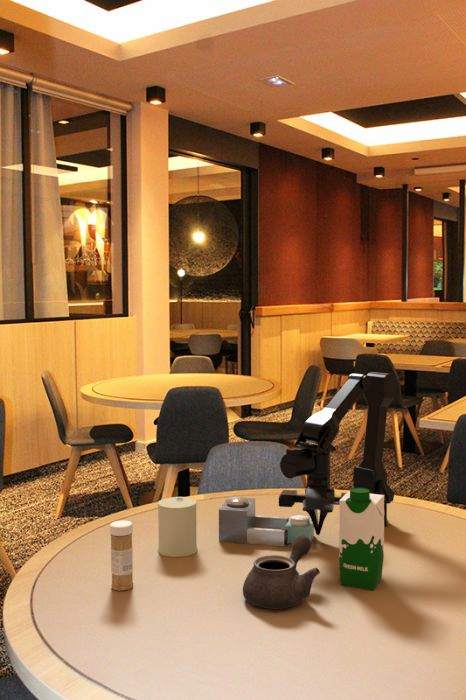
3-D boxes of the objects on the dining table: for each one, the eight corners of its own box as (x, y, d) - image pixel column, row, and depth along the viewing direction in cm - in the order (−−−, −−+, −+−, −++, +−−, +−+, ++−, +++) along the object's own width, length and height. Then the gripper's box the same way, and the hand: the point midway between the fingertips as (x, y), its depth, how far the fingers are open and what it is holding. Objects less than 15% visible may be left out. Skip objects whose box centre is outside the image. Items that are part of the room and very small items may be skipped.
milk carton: (334, 585, 146) (335, 490, 145) (347, 570, 155) (347, 480, 153) (377, 593, 143) (378, 495, 141) (387, 577, 151) (388, 484, 149)
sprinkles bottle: (129, 581, 149) (128, 518, 148) (136, 589, 145) (135, 524, 144) (108, 585, 147) (107, 521, 146) (114, 593, 143) (113, 528, 142)
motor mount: (292, 531, 180) (293, 496, 180) (287, 546, 170) (287, 509, 169) (228, 527, 184) (228, 493, 183) (218, 541, 173) (218, 505, 172)
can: (199, 543, 172) (199, 495, 171) (194, 557, 163) (193, 506, 162) (162, 542, 173) (161, 494, 172) (154, 556, 163) (153, 505, 163)
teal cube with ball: (313, 536, 177) (314, 515, 176) (309, 544, 171) (309, 523, 171) (290, 534, 179) (290, 513, 178) (285, 541, 173) (285, 521, 172)
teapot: (309, 621, 131) (309, 568, 130) (232, 607, 137) (232, 556, 136) (337, 583, 148) (337, 536, 147) (267, 572, 154) (267, 527, 153)
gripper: (275, 478, 166) (275, 543, 167) (356, 481, 162) (355, 548, 164) (281, 466, 177) (281, 528, 178) (357, 470, 173) (357, 532, 174)
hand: (318, 534), depth 173 cm, fingers closed
